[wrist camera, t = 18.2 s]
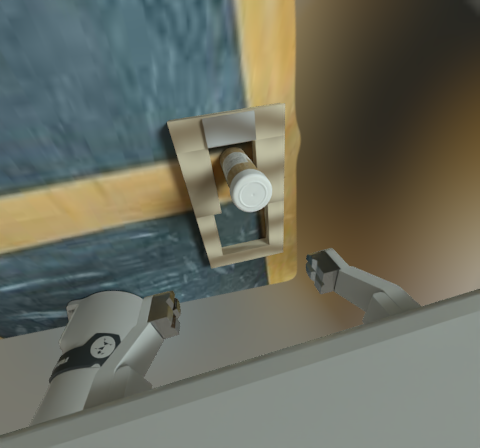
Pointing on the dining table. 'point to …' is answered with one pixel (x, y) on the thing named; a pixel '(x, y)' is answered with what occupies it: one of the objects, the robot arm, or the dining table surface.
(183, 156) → the keyhole board
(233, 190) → the sprinkles bottle
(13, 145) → the dining table surface
